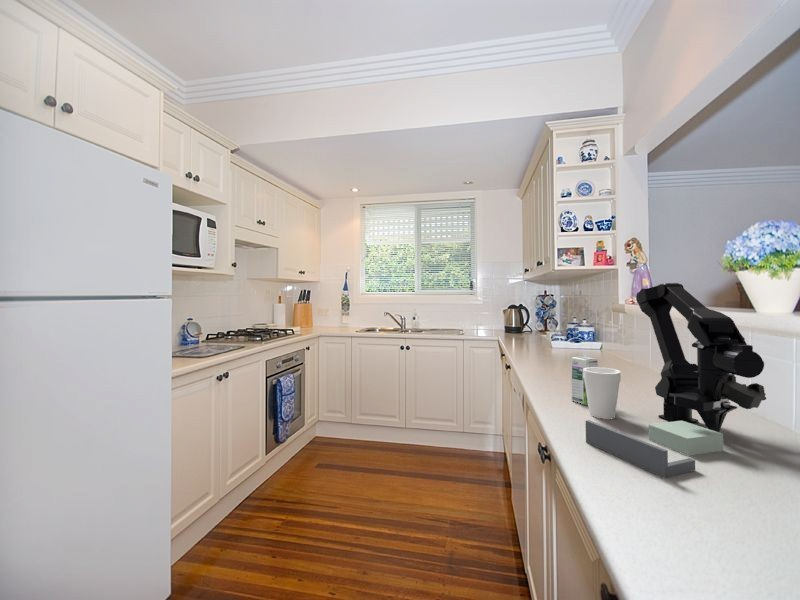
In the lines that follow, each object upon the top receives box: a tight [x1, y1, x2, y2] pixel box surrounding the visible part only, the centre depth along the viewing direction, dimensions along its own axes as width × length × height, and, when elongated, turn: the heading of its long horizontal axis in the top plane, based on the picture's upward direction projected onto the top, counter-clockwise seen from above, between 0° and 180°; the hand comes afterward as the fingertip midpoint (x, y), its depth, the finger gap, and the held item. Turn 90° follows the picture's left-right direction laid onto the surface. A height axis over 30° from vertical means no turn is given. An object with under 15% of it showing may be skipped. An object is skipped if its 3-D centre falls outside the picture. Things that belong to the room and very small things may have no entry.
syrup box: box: [570, 356, 599, 406], centre depth 115 cm, size 6×6×14 cm
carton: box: [648, 421, 724, 457], centre depth 81 cm, size 10×9×4 cm
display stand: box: [585, 419, 696, 479], centre depth 76 cm, size 8×18×5 cm, turn 18°
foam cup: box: [583, 366, 622, 420], centre depth 102 cm, size 10×9×13 cm
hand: (714, 434), depth 84 cm, fingers closed
